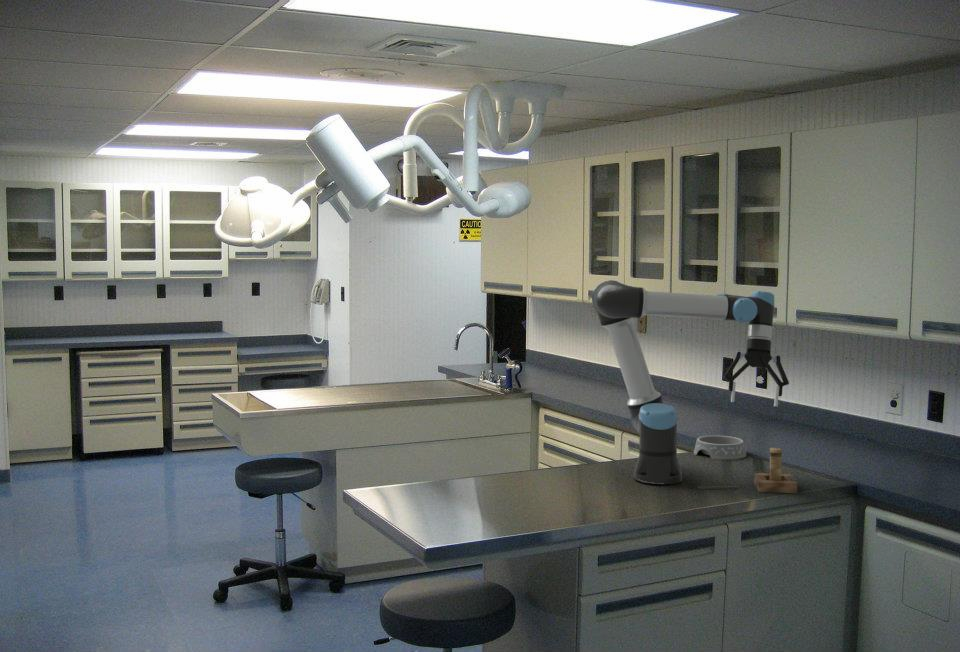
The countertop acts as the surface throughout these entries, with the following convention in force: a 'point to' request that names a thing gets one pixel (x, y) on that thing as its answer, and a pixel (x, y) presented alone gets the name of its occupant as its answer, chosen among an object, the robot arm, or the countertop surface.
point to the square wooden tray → (775, 483)
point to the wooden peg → (775, 464)
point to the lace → (720, 487)
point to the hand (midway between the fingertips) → (754, 404)
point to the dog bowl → (721, 447)
